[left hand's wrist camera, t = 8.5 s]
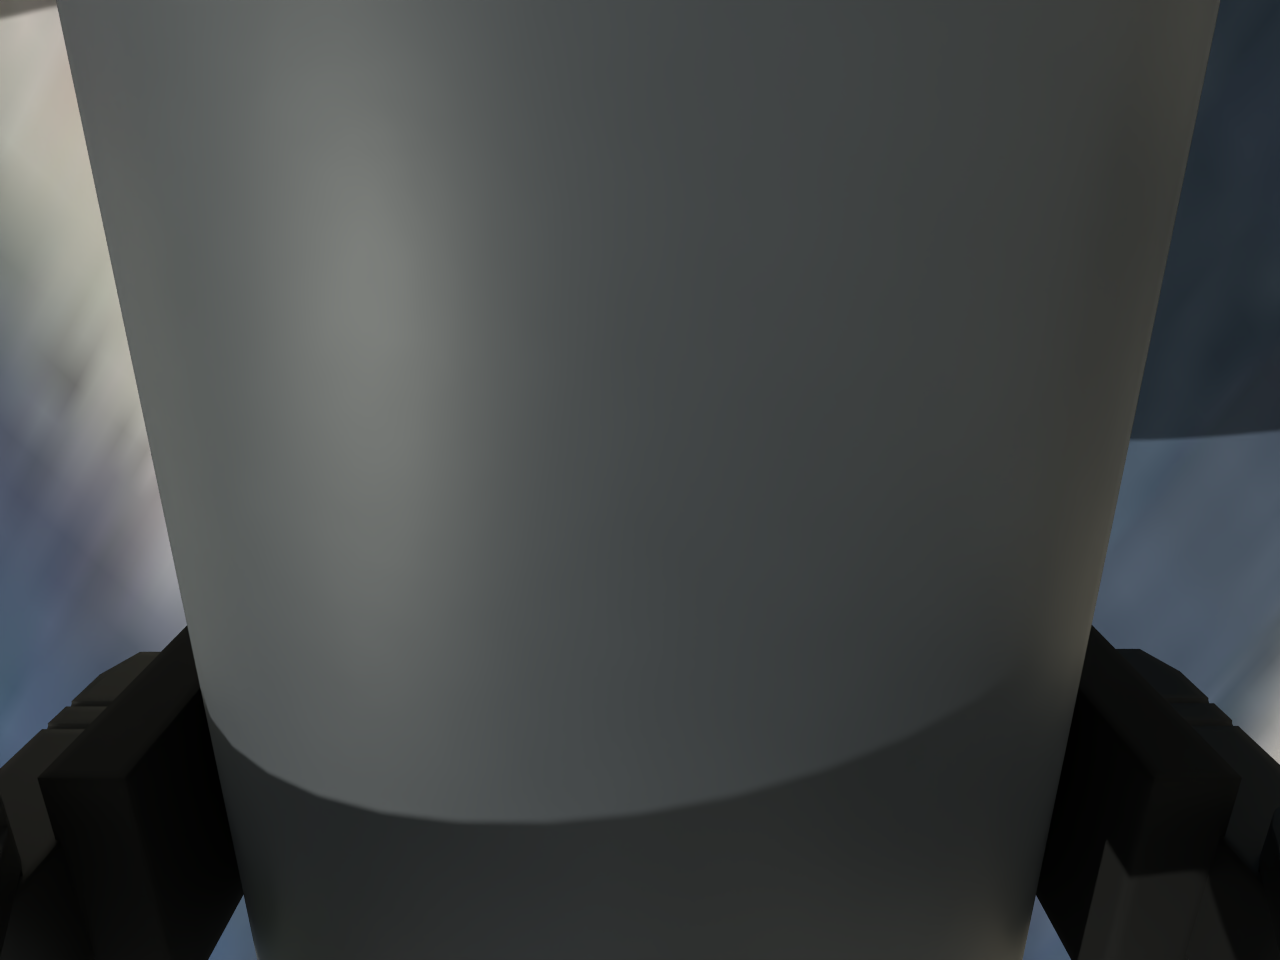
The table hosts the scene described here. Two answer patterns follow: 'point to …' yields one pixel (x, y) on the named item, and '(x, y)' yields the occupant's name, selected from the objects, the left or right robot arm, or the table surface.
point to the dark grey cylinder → (639, 446)
